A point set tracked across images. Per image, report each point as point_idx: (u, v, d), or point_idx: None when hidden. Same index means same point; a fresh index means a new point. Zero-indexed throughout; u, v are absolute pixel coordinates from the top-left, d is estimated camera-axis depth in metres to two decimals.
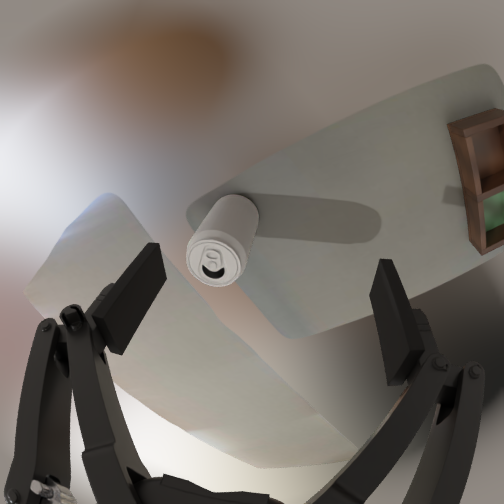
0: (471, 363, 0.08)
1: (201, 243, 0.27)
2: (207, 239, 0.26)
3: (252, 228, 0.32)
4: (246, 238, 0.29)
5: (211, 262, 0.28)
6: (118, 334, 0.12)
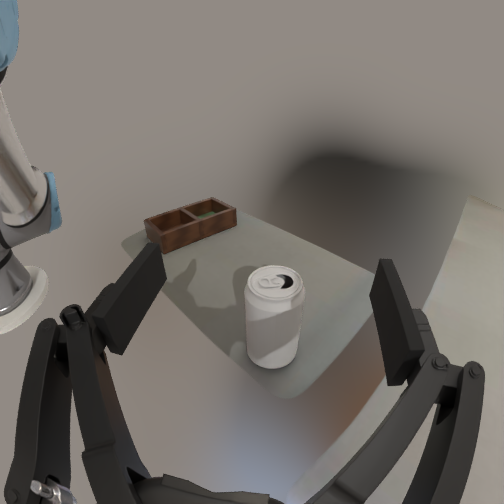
0: (471, 363, 0.08)
1: (255, 291, 0.27)
2: (248, 287, 0.28)
3: None
4: None
5: (273, 282, 0.28)
6: (118, 334, 0.12)
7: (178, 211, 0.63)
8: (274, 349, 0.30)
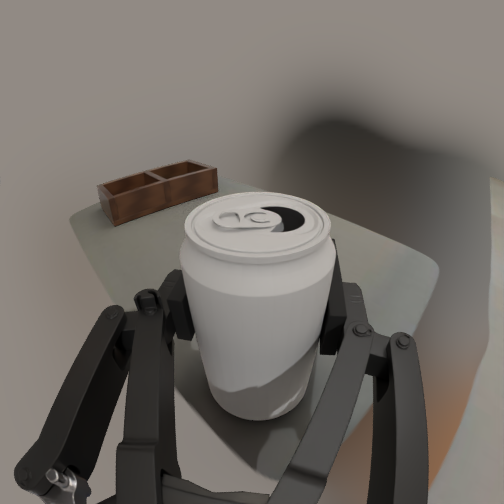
0: (397, 335, 0.10)
1: (199, 238, 0.10)
2: (185, 231, 0.10)
3: None
4: None
5: (253, 220, 0.11)
6: (190, 319, 0.13)
7: (142, 175, 0.45)
8: (258, 390, 0.12)
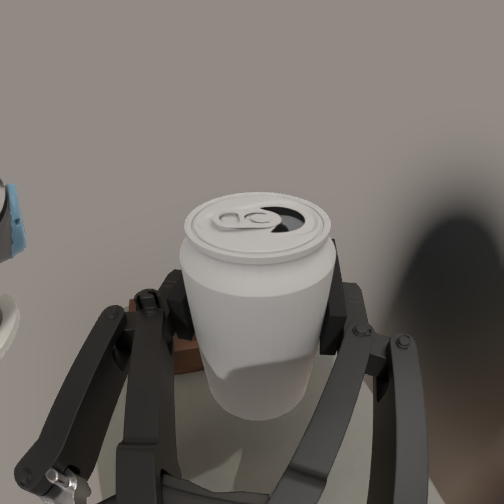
0: (397, 335, 0.10)
1: (199, 238, 0.10)
2: None
3: None
4: None
5: (253, 220, 0.11)
6: (190, 319, 0.13)
7: None
8: (258, 390, 0.12)
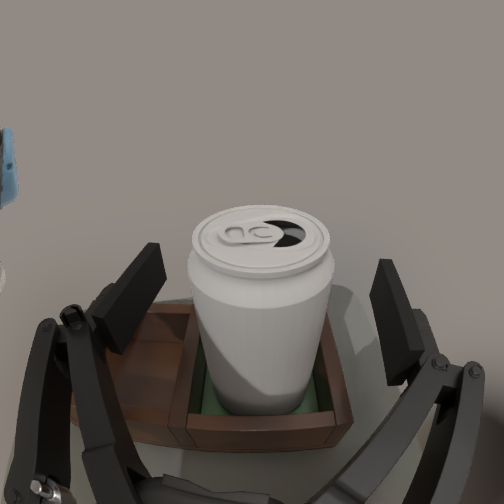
0: (471, 363, 0.08)
1: (207, 253, 0.10)
2: None
3: None
4: None
5: (256, 234, 0.11)
6: (118, 334, 0.12)
7: (185, 317, 0.20)
8: (261, 392, 0.13)
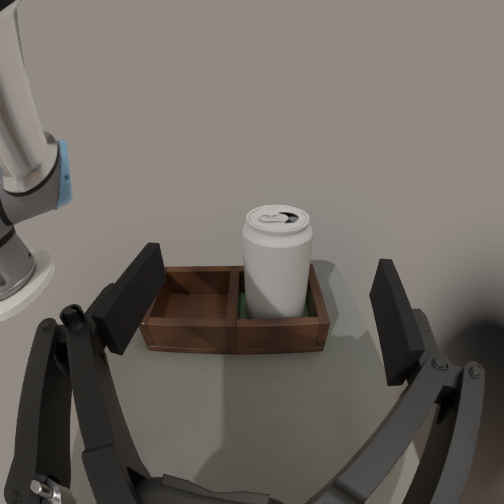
0: (471, 363, 0.08)
1: (255, 225, 0.24)
2: (247, 222, 0.24)
3: None
4: None
5: (276, 218, 0.25)
6: (118, 334, 0.12)
7: (227, 273, 0.33)
8: (278, 302, 0.26)
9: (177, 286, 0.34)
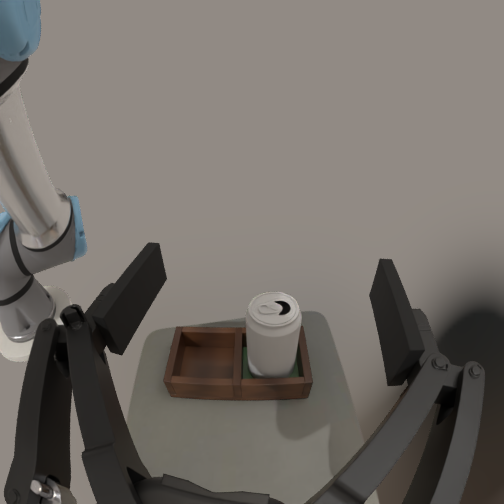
0: (471, 363, 0.08)
1: (255, 317, 0.30)
2: (249, 314, 0.30)
3: None
4: None
5: (272, 309, 0.31)
6: (118, 334, 0.12)
7: (232, 334, 0.39)
8: (273, 367, 0.32)
9: (190, 341, 0.40)
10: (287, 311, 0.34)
